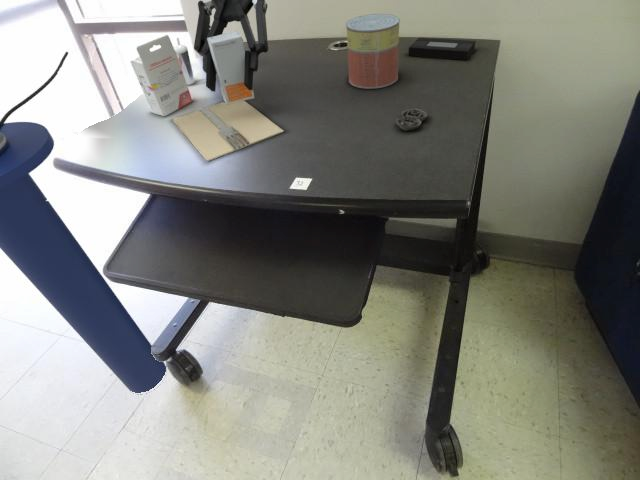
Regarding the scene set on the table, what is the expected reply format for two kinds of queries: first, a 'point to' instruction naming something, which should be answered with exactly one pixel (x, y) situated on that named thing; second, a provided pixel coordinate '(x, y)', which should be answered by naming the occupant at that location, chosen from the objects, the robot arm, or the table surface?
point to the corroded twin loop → (411, 119)
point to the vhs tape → (442, 48)
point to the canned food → (373, 50)
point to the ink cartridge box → (161, 77)
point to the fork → (225, 130)
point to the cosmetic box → (230, 66)
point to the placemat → (231, 115)
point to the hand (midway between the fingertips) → (229, 87)
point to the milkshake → (184, 62)
